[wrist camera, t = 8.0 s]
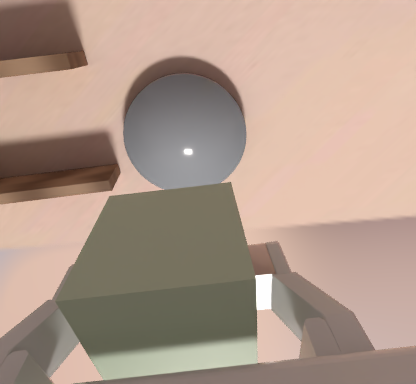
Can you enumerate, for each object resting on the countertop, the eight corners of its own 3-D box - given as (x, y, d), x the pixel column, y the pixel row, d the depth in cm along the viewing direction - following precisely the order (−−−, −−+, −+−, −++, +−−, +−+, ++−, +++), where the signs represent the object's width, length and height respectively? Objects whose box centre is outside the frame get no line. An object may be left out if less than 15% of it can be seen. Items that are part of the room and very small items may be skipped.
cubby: (83, 50, 21) (66, 53, 18) (120, 173, 26) (112, 190, 23) (-89, 71, 21) (-136, 77, 18) (-16, 190, 26) (-43, 209, 23)
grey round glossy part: (241, 65, 22) (244, 66, 21) (245, 180, 28) (247, 185, 27) (111, 81, 22) (107, 83, 21) (141, 193, 28) (139, 199, 27)
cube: (230, 182, 11) (256, 278, 6) (236, 268, 13) (257, 379, 9) (109, 196, 11) (54, 301, 7) (138, 279, 13) (113, 394, 9)
